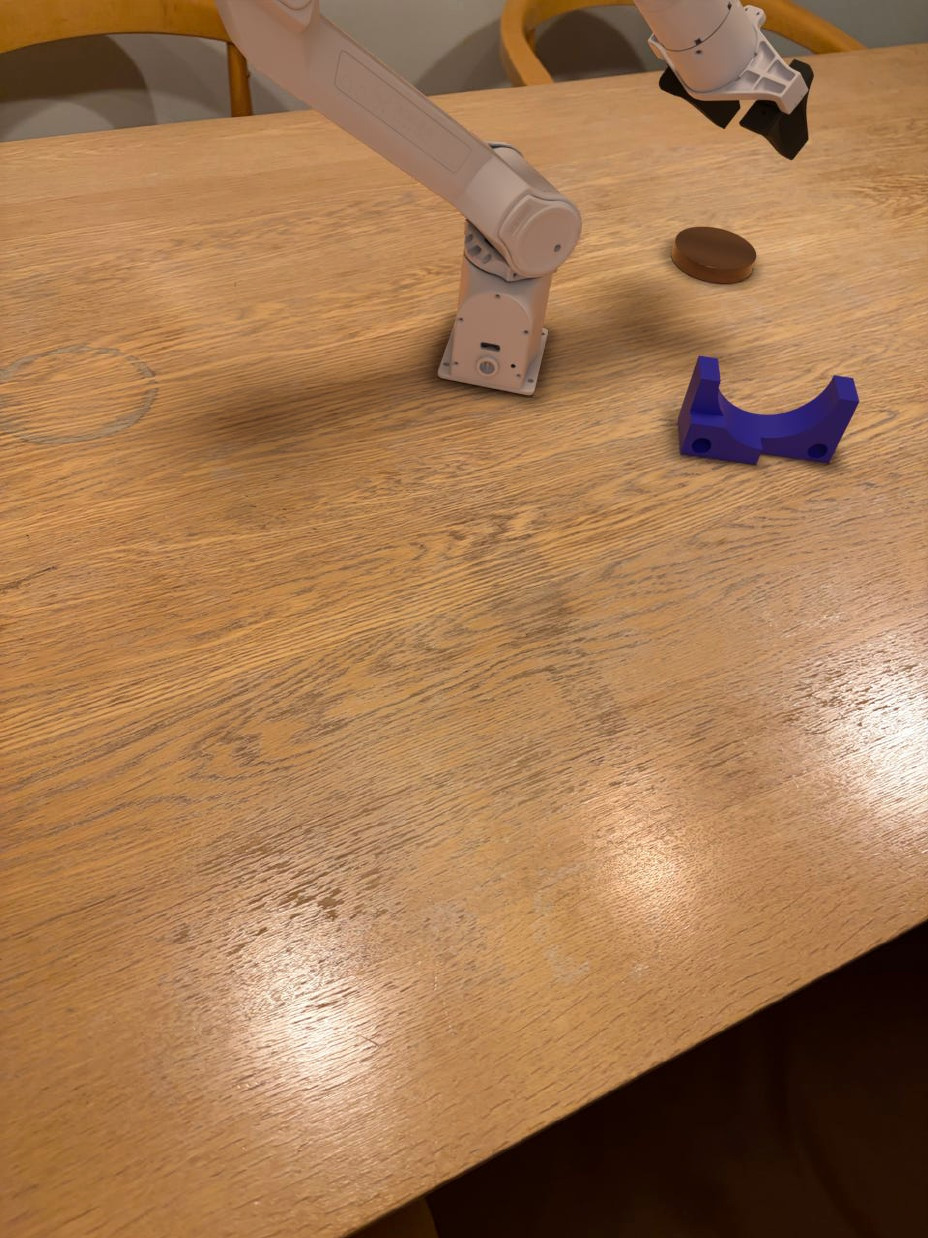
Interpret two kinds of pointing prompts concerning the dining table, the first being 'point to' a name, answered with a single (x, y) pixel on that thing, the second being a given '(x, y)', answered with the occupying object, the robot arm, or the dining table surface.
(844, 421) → the blue clamp bracket
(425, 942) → the dining table surface
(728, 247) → the walnut chip
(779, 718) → the dining table surface
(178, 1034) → the dining table surface
